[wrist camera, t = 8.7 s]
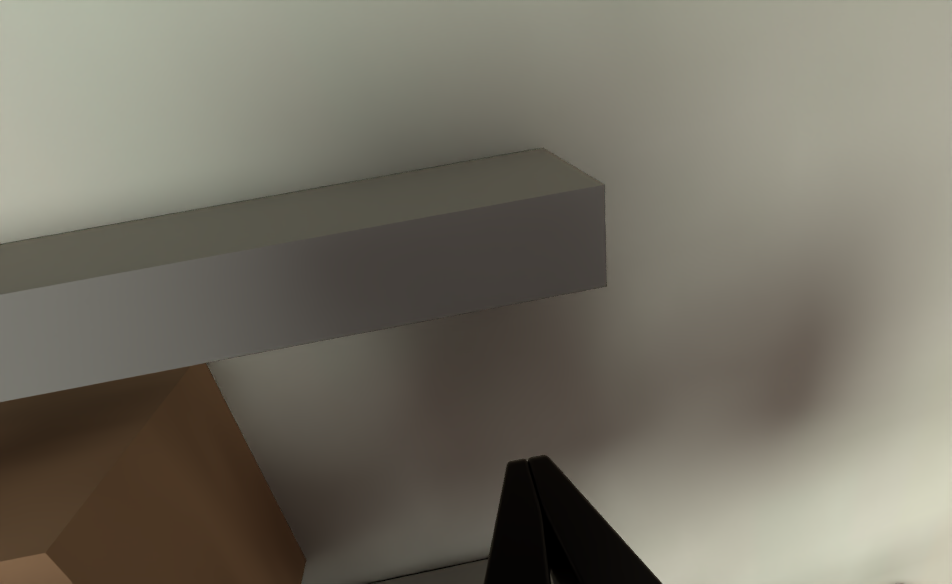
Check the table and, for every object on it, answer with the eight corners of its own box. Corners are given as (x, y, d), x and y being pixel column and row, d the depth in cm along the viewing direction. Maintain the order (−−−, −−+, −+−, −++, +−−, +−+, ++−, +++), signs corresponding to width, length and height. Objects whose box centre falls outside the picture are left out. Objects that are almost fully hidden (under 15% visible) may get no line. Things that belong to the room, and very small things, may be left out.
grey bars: (543, 147, 8) (605, 185, 5) (576, 569, 14) (614, 687, 11) (-260, 290, 8) (-629, 409, 5) (122, 666, 13) (48, 814, 11)
